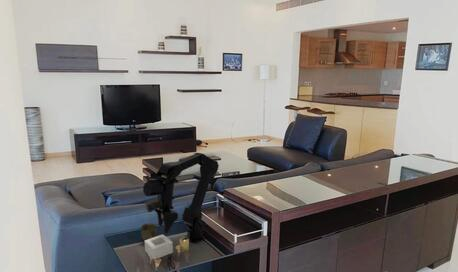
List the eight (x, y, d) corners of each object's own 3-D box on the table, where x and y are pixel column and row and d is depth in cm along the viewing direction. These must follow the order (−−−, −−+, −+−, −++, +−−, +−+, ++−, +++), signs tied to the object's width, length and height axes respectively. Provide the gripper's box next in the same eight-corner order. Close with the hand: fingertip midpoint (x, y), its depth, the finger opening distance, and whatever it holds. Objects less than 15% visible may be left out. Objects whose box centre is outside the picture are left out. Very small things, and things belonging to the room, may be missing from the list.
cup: (153, 247, 151) (152, 230, 149) (138, 245, 153) (137, 229, 151) (160, 239, 158) (159, 223, 157) (145, 237, 160) (144, 222, 158)
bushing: (186, 248, 150) (185, 235, 149) (190, 252, 147) (190, 239, 146) (178, 251, 148) (177, 238, 146) (183, 255, 145) (182, 242, 143)
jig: (163, 244, 153) (162, 234, 152) (172, 252, 147) (172, 242, 146) (145, 250, 148) (144, 240, 147) (153, 259, 141) (153, 249, 140)
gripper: (142, 188, 146) (139, 222, 147) (153, 199, 129) (149, 238, 130) (167, 188, 151) (164, 221, 152) (180, 199, 134) (176, 237, 135)
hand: (162, 229), depth 142 cm, fingers open, 9 cm apart
